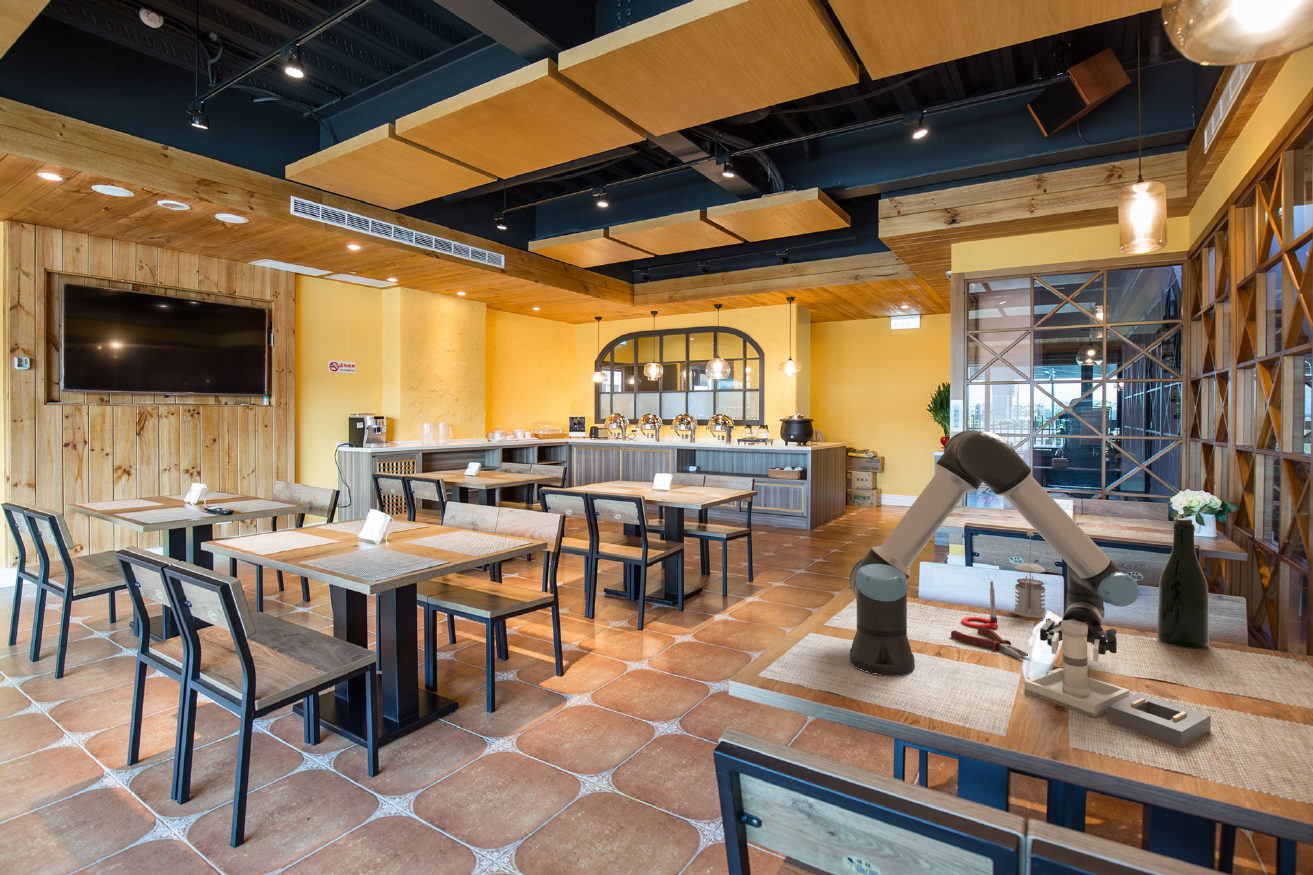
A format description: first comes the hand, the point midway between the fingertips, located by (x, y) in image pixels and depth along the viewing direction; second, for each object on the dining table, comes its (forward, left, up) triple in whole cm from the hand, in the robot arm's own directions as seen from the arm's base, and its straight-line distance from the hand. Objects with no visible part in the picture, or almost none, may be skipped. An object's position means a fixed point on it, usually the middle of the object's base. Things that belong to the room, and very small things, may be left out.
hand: (1074, 650), depth 132 cm
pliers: (+17, +30, -12) cm, 37 cm away
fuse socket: (+5, -13, -11) cm, 18 cm away
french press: (+54, +40, -12) cm, 68 cm away
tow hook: (+32, +42, -12) cm, 54 cm away
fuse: (+5, +2, -11) cm, 12 cm away
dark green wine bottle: (+63, +5, -12) cm, 64 cm away
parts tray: (+5, +2, -11) cm, 13 cm away
